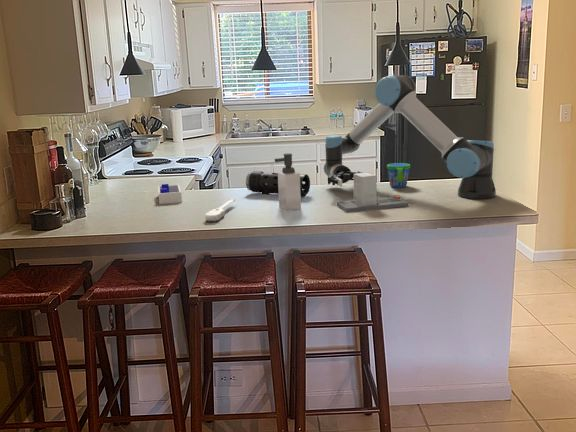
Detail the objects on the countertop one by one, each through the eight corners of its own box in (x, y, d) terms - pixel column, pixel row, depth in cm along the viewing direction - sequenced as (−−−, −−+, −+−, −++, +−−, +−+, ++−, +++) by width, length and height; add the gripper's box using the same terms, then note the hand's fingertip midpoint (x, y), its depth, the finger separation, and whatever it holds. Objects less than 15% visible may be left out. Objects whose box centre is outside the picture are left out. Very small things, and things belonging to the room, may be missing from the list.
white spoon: (227, 205, 241) (226, 198, 240) (240, 205, 239) (239, 198, 239) (202, 222, 214) (201, 215, 214) (217, 223, 213) (216, 215, 212)
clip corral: (179, 194, 266) (179, 184, 265) (182, 202, 250) (181, 192, 248) (158, 195, 264) (157, 186, 263) (159, 204, 247) (158, 193, 246)
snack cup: (387, 183, 273) (387, 161, 271) (409, 183, 271) (409, 161, 269) (386, 189, 258) (386, 167, 256) (410, 190, 256) (410, 167, 254)
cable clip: (171, 202, 251) (170, 188, 250) (161, 202, 251) (160, 189, 249) (172, 196, 263) (171, 183, 261) (162, 197, 262) (161, 184, 261)
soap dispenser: (274, 208, 231) (271, 154, 226) (293, 205, 235) (291, 152, 230) (281, 212, 226) (279, 156, 220) (300, 208, 230) (299, 154, 224)
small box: (376, 207, 227) (377, 175, 224) (362, 209, 225) (362, 176, 222) (367, 203, 234) (367, 172, 231) (353, 205, 232) (353, 173, 229)
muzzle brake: (301, 199, 246) (301, 175, 244) (245, 195, 259) (244, 172, 256) (310, 195, 255) (310, 172, 252) (255, 191, 267) (254, 169, 264)
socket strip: (396, 199, 239) (396, 194, 238) (408, 206, 227) (408, 200, 227) (336, 205, 233) (336, 199, 232) (346, 212, 222) (346, 206, 221)
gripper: (367, 179, 259) (385, 188, 239) (314, 184, 254) (328, 193, 234) (367, 163, 257) (385, 170, 237) (313, 167, 252) (327, 175, 232)
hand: (357, 182), depth 235 cm, fingers open, 13 cm apart
